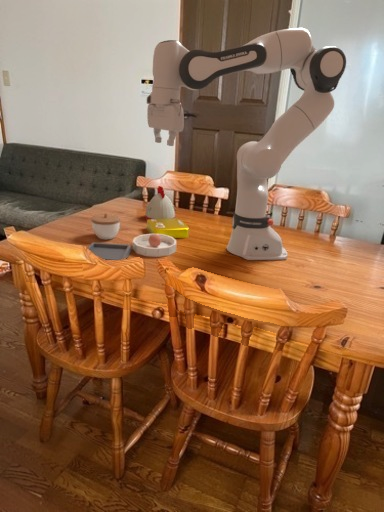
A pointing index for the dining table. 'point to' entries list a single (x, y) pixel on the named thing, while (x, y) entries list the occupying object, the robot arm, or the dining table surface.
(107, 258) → the tray
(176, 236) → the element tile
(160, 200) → the white chicken figure
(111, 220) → the lidded jar
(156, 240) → the ball
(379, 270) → the dining table surface
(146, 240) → the white round dish
